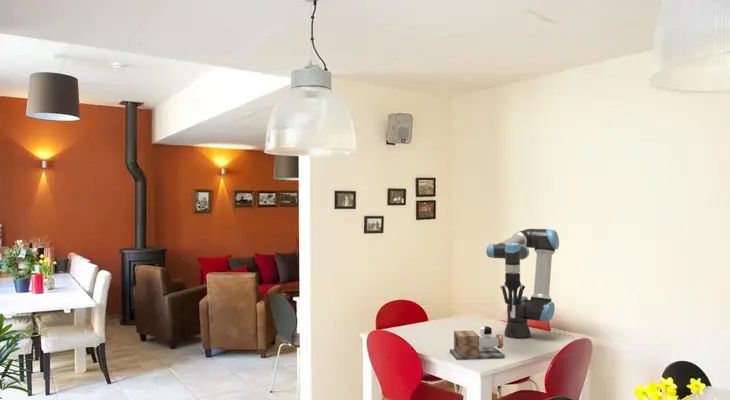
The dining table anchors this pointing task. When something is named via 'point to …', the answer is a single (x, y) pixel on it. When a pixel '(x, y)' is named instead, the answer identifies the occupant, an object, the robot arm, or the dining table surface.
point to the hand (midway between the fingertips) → (512, 317)
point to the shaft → (491, 341)
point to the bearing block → (472, 347)
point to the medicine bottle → (485, 334)
